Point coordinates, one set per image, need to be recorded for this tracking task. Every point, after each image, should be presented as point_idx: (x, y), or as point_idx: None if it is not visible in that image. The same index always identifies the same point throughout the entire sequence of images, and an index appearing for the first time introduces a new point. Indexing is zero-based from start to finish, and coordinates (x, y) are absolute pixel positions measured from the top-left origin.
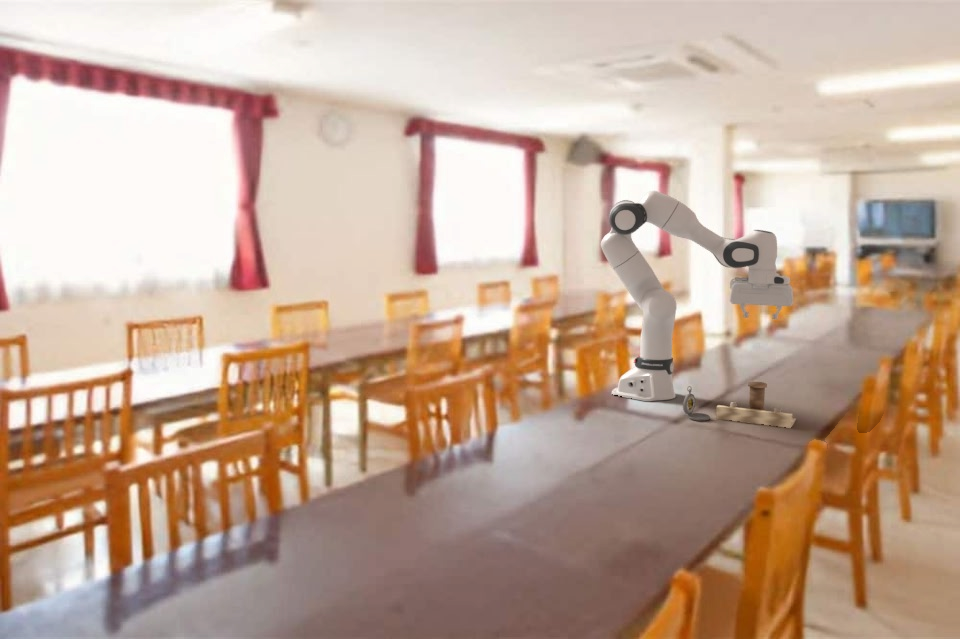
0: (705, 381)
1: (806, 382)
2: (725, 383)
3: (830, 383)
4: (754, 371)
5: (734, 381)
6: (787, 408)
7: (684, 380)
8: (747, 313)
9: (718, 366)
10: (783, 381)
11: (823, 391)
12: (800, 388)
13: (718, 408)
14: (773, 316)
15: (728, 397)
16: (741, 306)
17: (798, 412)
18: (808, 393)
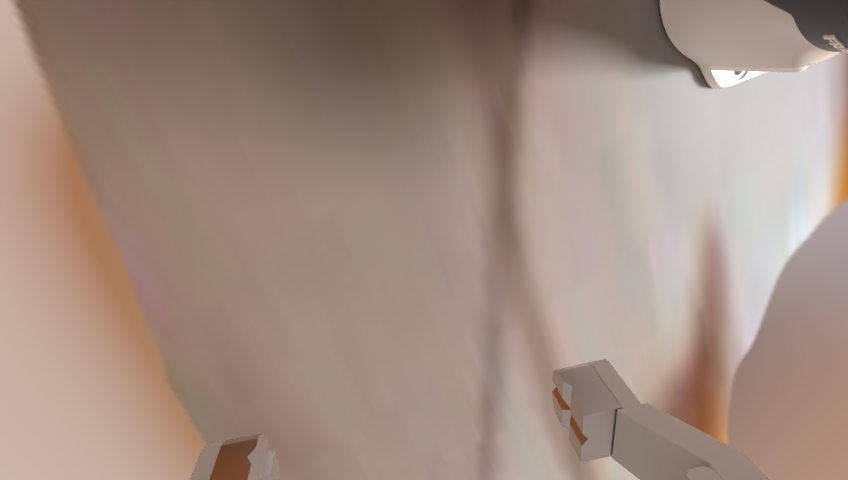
0: (602, 301)
1: (351, 450)
2: (542, 314)
3: (296, 474)
4: (508, 470)
5: (524, 351)
6: (240, 110)
7: (664, 275)
8: (581, 407)
9: (604, 463)
10: (406, 426)
11: (267, 394)
12: (335, 387)
13: None
14: (239, 460)
15: (480, 140)
16: (741, 474)
17: (175, 71)
18: (289, 349)
